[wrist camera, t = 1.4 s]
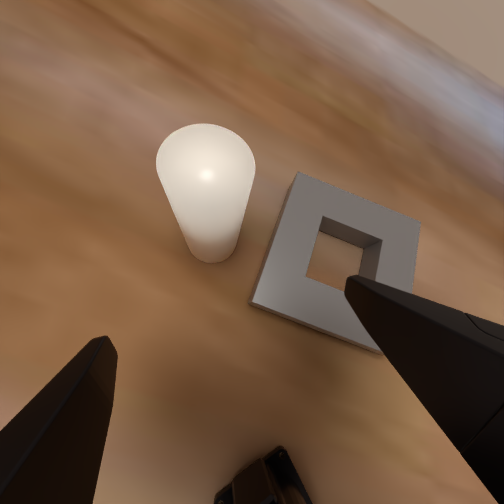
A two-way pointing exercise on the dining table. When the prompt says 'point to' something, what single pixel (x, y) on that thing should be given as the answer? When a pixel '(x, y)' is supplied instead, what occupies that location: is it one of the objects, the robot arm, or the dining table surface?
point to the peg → (207, 186)
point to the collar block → (343, 227)
